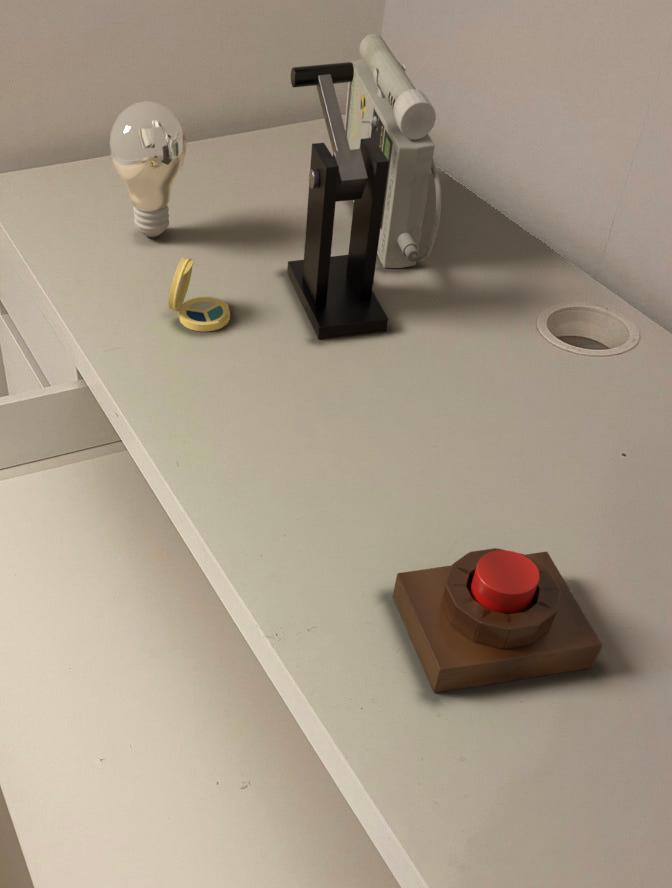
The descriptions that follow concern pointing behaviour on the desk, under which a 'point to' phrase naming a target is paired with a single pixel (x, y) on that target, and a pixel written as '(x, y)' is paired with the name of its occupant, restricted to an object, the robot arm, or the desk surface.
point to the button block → (492, 627)
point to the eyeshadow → (196, 303)
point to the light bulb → (148, 161)
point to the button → (505, 581)
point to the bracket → (347, 276)
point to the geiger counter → (395, 147)
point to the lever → (336, 124)
